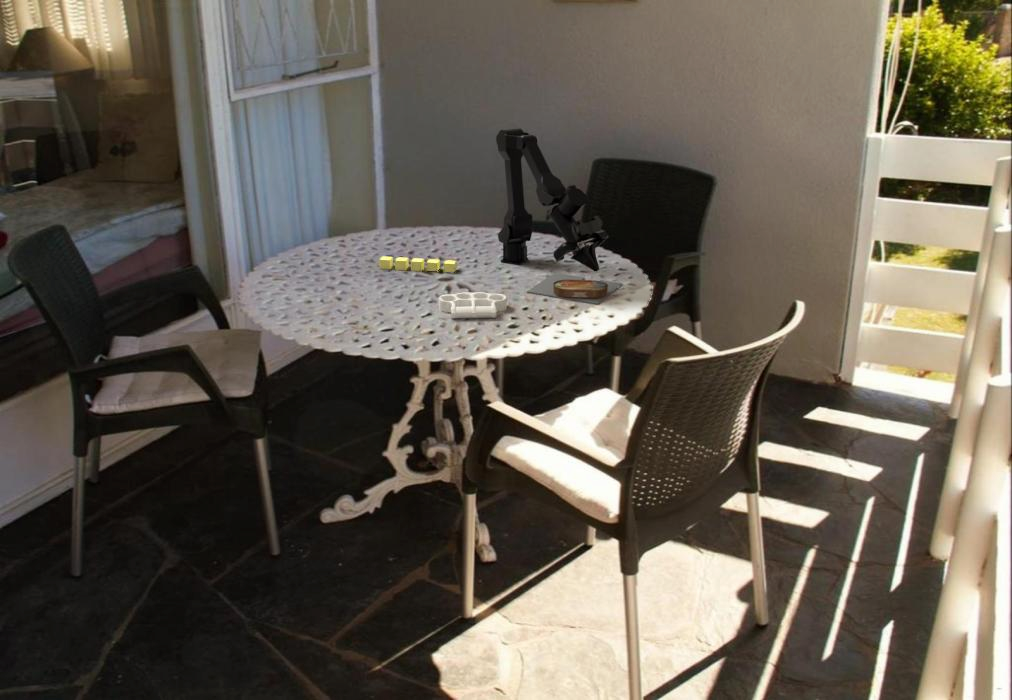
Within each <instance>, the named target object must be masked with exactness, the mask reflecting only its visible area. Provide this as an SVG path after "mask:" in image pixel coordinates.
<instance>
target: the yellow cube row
mask: <svg viewBox="0 0 1012 700" xmlns="http://www.w3.org/2000/svg"><path fill="white" fill-rule="evenodd" d="M393 258H394V257H393V256H385V255H384V256H381V257H380V258H379V260H378V263H379V265H378V266H379V270H391V269H393V267H394V268H395V271H407V270H408V269H409V267H410V271H411V272H423V271H424V269H425V266H426V272H427V271H437V272H436V273H439V271H440V270H441V259H435V258H434V259H433V258H429V259H428V260H427V261H426V265H425V258H418V257H415V258H412V260H410V261H409V259H410V258H409V257H403V256H402V257H400V256H399V257H397V258H396V259H395V260H394V259H393ZM457 262H458V261H457V260H449V259H447V260H446V259H445V261H444V262H443V263H442V264H443V265H442V266H443V273H444V272H455V271H456V269H458V268H457V267H458V265H457V264H458V263H457ZM409 263H410V264H409ZM439 269H440V270H439ZM422 270H423V271H422ZM438 270H439V271H438ZM456 272H457V271H456ZM456 272H455V273H456Z"/></svg>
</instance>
